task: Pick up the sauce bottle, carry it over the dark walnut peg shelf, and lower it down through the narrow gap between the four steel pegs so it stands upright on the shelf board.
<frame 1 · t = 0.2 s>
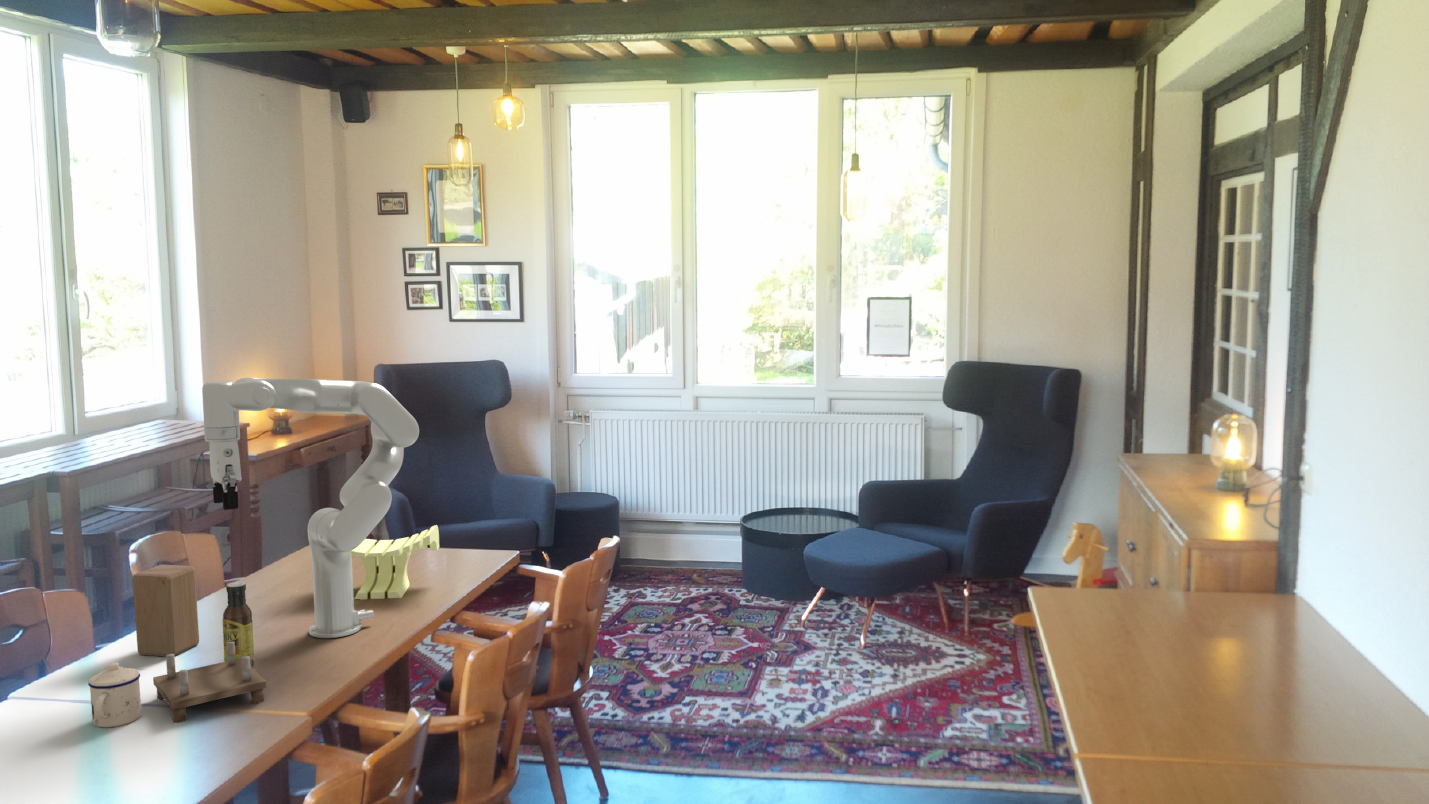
hand: (225, 505, 245), 36 cm above the table, tool pointing down, fingers open, 9 cm apart
teacup with lid: (114, 723, 209), on the table
peg shelf: (210, 699, 221), on the table
sauce bottle: (240, 668, 239), on the table
wooden block: (169, 650, 252), on the table
slatted curved stool: (383, 591, 300), on the table
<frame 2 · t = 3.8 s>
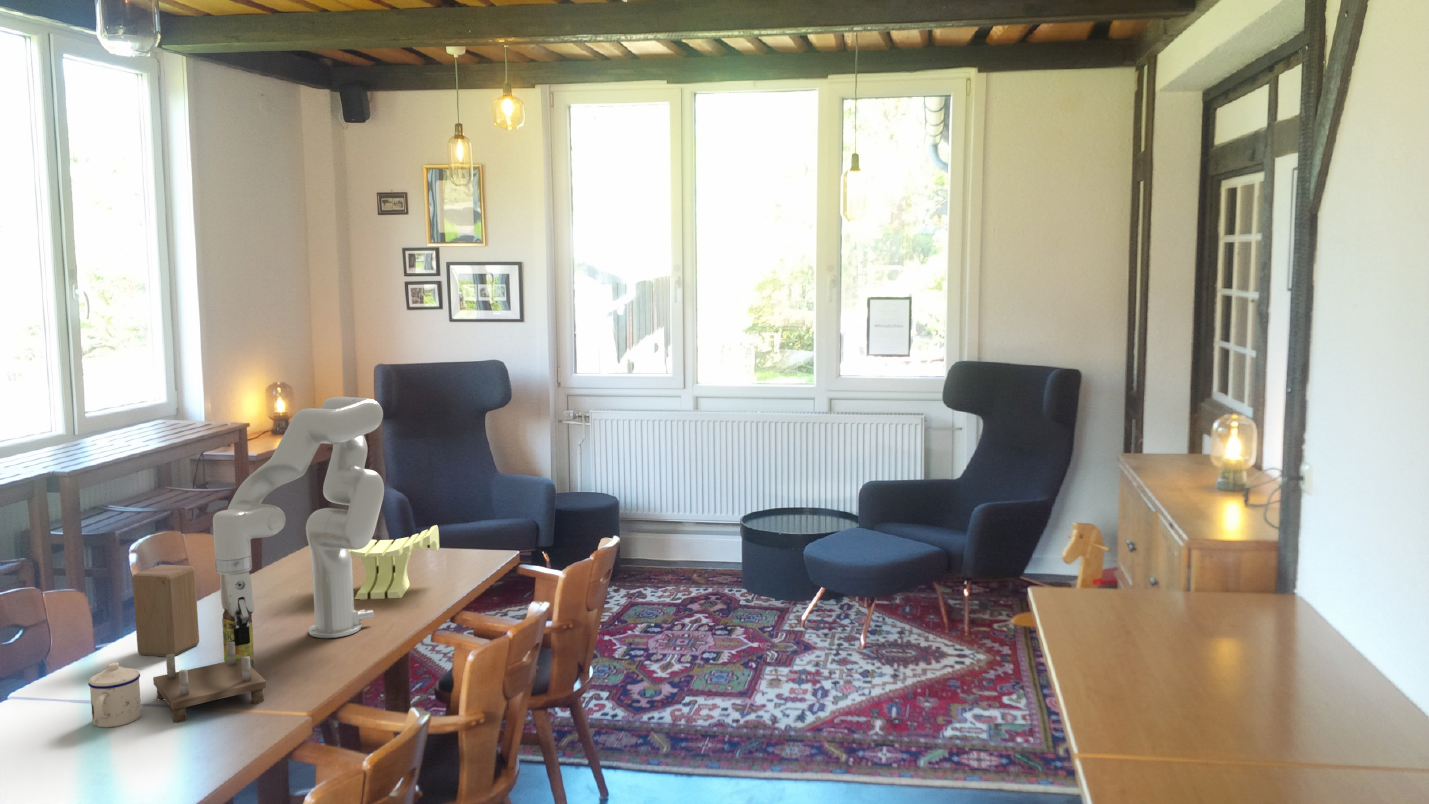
hand: (238, 639, 238), 7 cm above the table, tool pointing down, fingers closed on sauce bottle, 6 cm apart
sauce bottle: (240, 668, 239), on the table, touching gripper
everything else where it was.
when the fingers open (12 cm above the table, at t = 11.6 s): sauce bottle drops 1 cm, resting on peg shelf.
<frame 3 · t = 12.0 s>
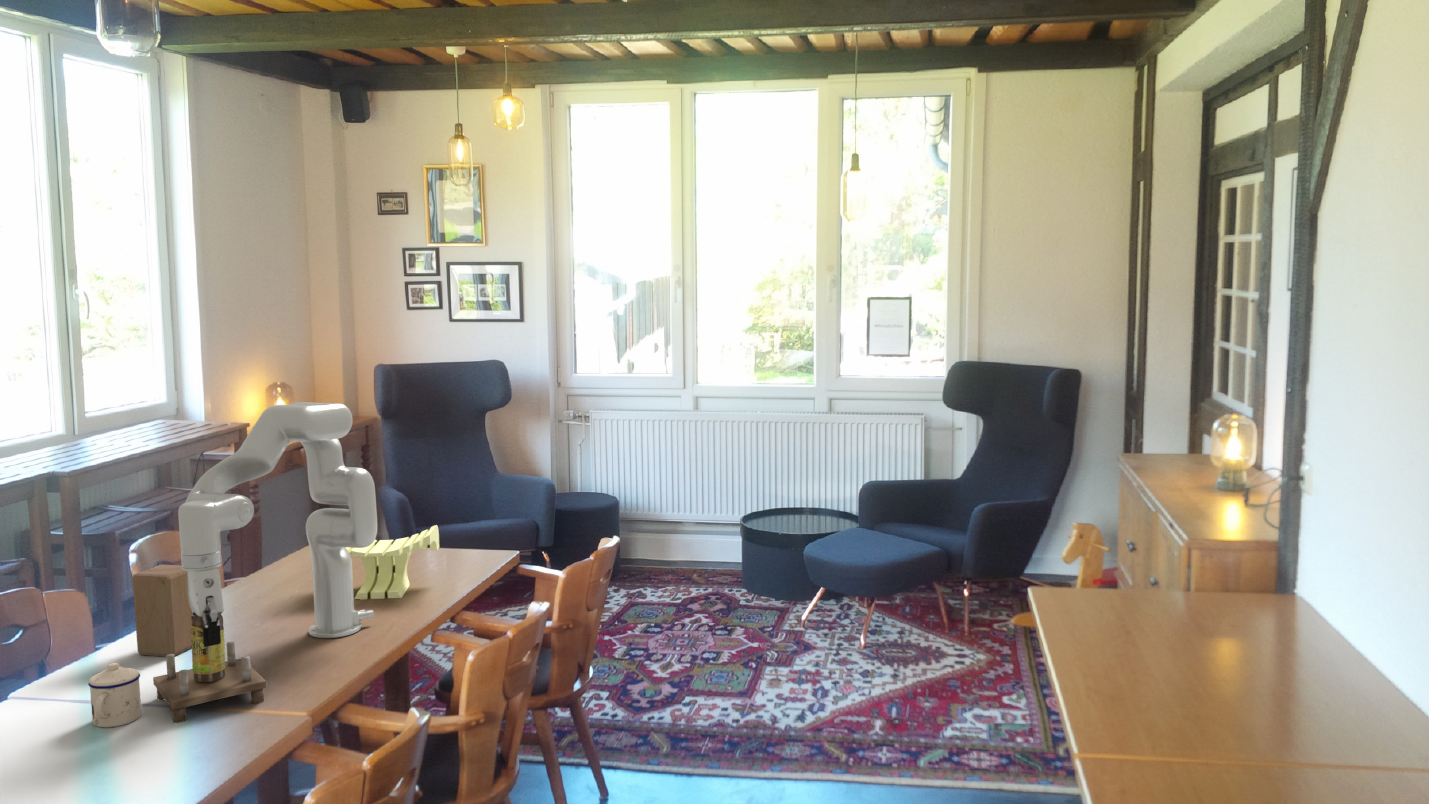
hand: (206, 638, 219), 13 cm above the table, tool pointing down, fingers open, 9 cm apart
sauce bottle: (210, 679, 220), point 4 cm above the table, touching peg shelf
everything else where it was.
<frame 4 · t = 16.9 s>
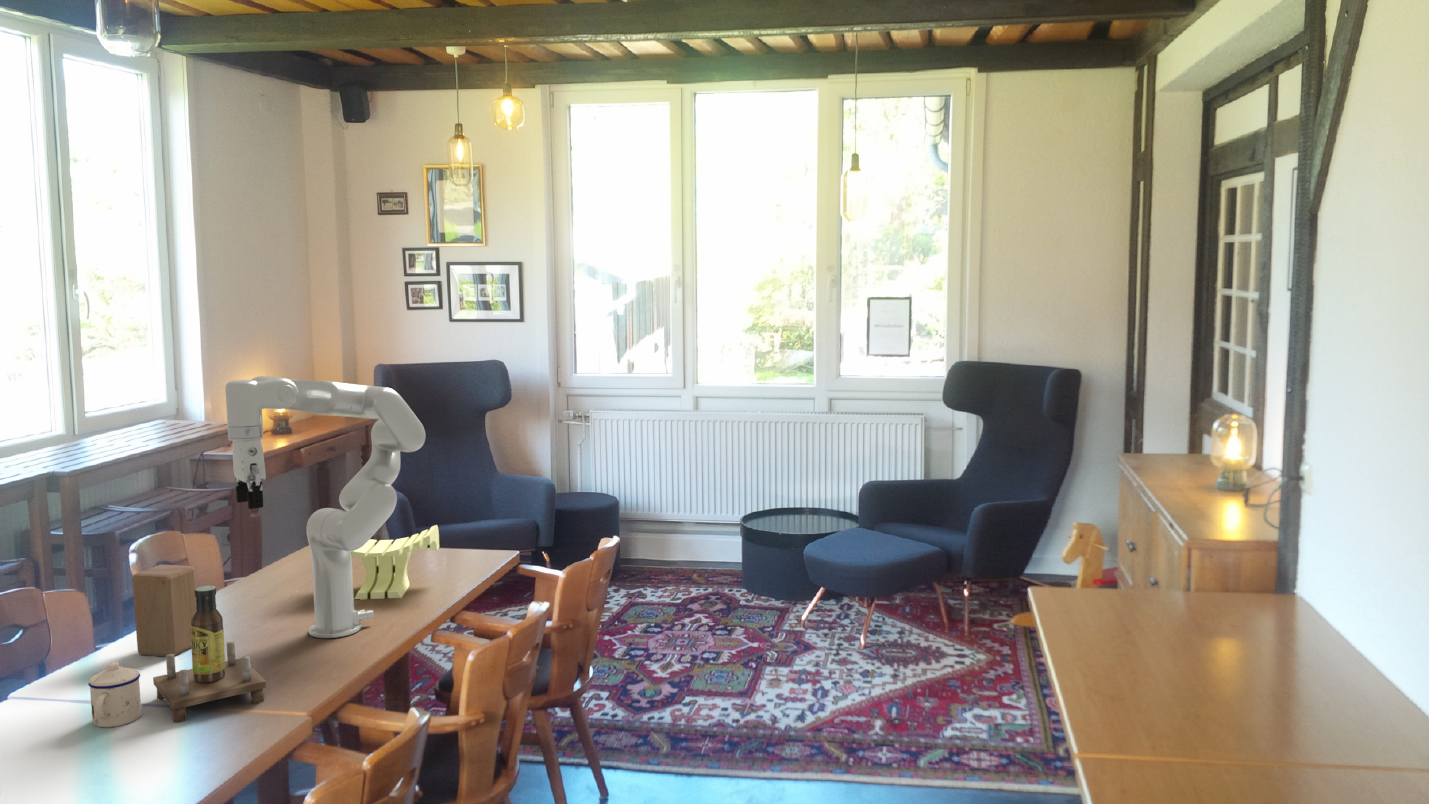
hand: (249, 504, 244), 36 cm above the table, tool pointing down, fingers open, 9 cm apart
nothing on the table moved.
at the end: sauce bottle 0.2 cm off-centre on the peg shelf, point 4.3 cm above the peg shelf's base; sauce bottle tilted 0°; the gripper is holding nothing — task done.
